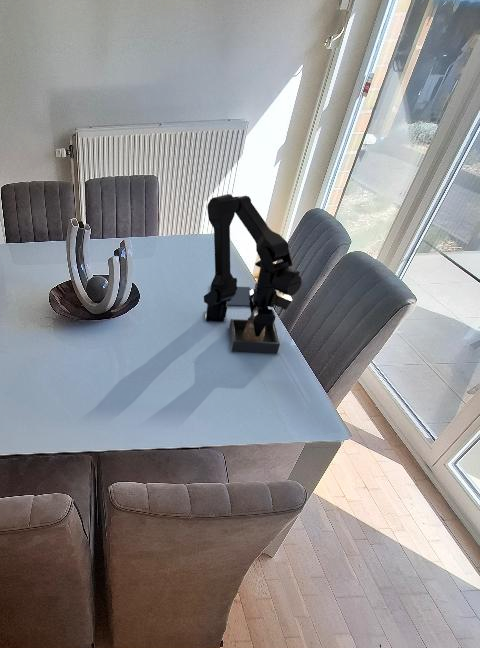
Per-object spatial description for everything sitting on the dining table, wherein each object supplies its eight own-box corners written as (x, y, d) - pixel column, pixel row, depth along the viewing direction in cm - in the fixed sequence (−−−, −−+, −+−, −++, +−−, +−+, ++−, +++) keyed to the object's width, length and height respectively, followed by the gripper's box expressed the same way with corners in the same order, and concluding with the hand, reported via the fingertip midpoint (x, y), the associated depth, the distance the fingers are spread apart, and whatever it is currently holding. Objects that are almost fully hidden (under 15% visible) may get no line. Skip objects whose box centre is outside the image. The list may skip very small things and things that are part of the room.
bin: (231, 351, 151) (233, 341, 149) (228, 329, 161) (230, 318, 158) (276, 354, 150) (280, 343, 147) (271, 331, 160) (274, 320, 157)
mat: (212, 304, 174) (212, 303, 173) (210, 286, 184) (211, 285, 183) (252, 306, 172) (252, 305, 172) (249, 288, 182) (249, 287, 182)
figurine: (255, 333, 158) (264, 300, 150) (267, 343, 154) (276, 310, 145) (237, 336, 157) (245, 304, 148) (248, 347, 152) (257, 314, 143)
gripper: (298, 298, 133) (285, 345, 144) (289, 272, 146) (277, 317, 157) (259, 297, 135) (248, 344, 146) (253, 271, 148) (244, 316, 159)
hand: (255, 330), depth 152 cm, fingers closed on figurine, 8 cm apart
